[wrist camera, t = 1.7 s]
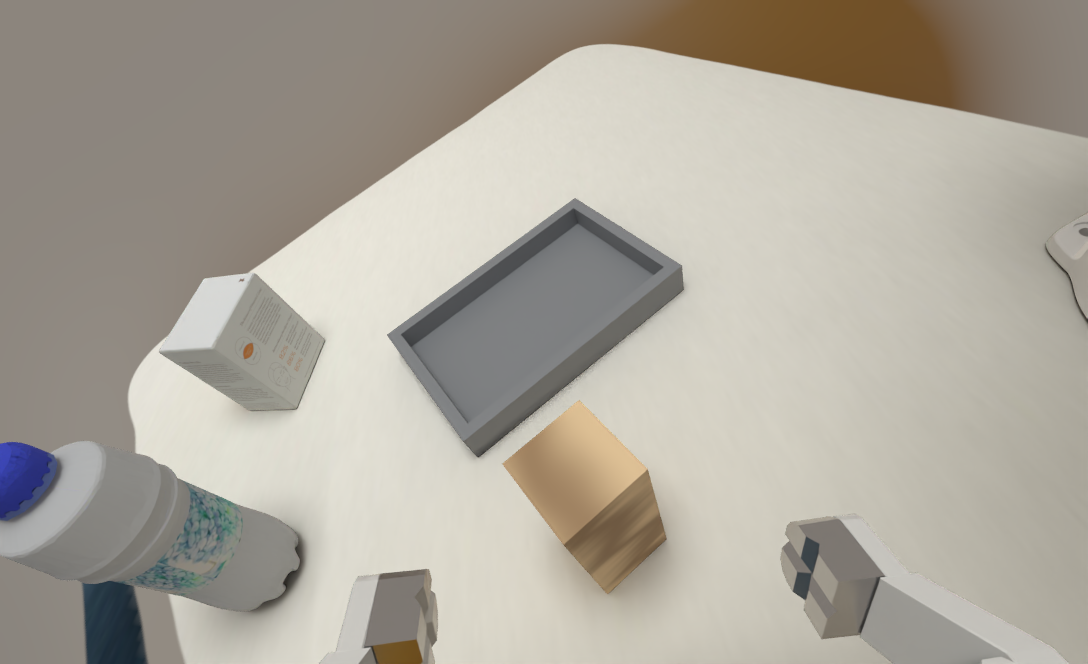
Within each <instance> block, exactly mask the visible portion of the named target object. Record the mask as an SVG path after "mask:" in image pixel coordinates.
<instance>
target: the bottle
mask: <svg viewBox="0 0 1088 664" xmlns="http://www.w3.org/2000/svg"><path fill="white" fill-rule="evenodd" d="M297 545H298V537H297V535H296V533H295V532H294V531H293V530H292V529H291V528H290V527H289V526H288V525H286V524H285V523H283V522H282V521H280V520H279V519H277V518H274V517H272V516H270V515H268V514H265V513H262V512H259V511H256V510H253V509H250V508H246V507H243V506H240V505H237V504H235V503H233V502H231V501H228V500H226V499H224V498H222V497H219V496H217V495H215V494H212V493H210V492H208V491H206V490H203V489H201V488H199V487H196V486H194V485H192V484H190V483H187V482H185V481H183V480H180V479H178V478H177V477H176V475H175V473H174V472H173V471H172V470H171V469H170V468H169V467H167V466H165V465H161V464H157V463H156V462H155V461H154V460H153V459H152V458H150V457H148V456H145V455H140V454H136V453H132V452H128V451H124V450H121V449H117V448H114V447H110V446H106V445H103V444H99V443H96V442H91V441H79V442H75V443H71V444H68V445H65V446H63V447H61V448H58V449H57V450H55V451H53V452H51V453H48V452H45V451H43V450H40V449H38V448H35V447H33V446H30V445H27V444H23V443H17V442H7V443H2V444H0V555H1V556H3V557H5V558H7V559H10V560H12V561H15V562H17V563H20V564H23V565H25V566H28V567H31V568H33V569H36V570H39V571H42V572H44V573H47V574H49V575H51V576H53V577H55V578H57V579H60V580H78V581H80V582H82V583H86V584H97V583H102V582H105V581H109V580H110V581H114V582H119V583H123V584H128V585H133V586H137V587H142V588H146V589H151V590H155V591H160V592H164V593H169V594H173V595H179V596H183V597H186V598H190V599H193V600H196V601H198V602H201V603H204V604H207V605H210V606H214V607H217V608H221V609H226V610H233V611H251V610H254V609H256V608H258V607H259V606H260V605H261V604H262V603H263V602H265V601H268V600H273V599H275V598H278V597H279V596H280V595H281V594H282V593H283V592H284V591H285V588H286V586H285V585H284V584H283V582H284V580H285V578H286V576H287V575H288V574H289V573H290V572H291V571H296V570H297V569H298V567H299V563H300V559H299V557H298V555H297V553H296V551H295V547H296V546H297Z"/></svg>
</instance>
